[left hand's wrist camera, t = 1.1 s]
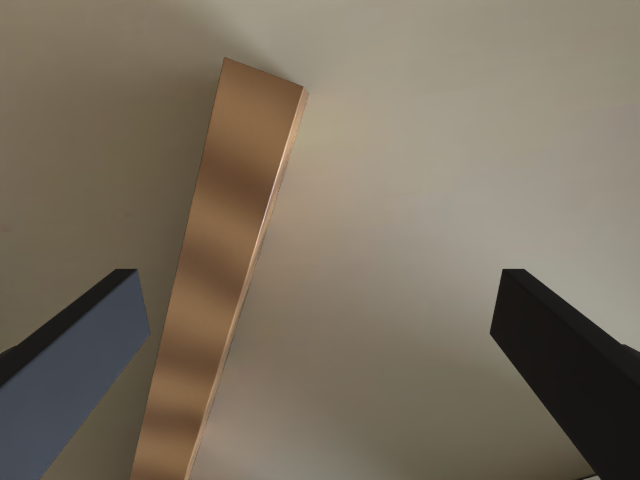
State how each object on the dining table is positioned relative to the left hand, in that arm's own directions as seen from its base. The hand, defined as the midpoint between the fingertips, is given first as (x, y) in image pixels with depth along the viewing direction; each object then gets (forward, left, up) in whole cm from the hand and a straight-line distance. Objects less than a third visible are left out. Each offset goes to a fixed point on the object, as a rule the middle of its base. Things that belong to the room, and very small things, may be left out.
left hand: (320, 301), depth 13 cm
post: (-9, -27, -18) cm, 34 cm away
